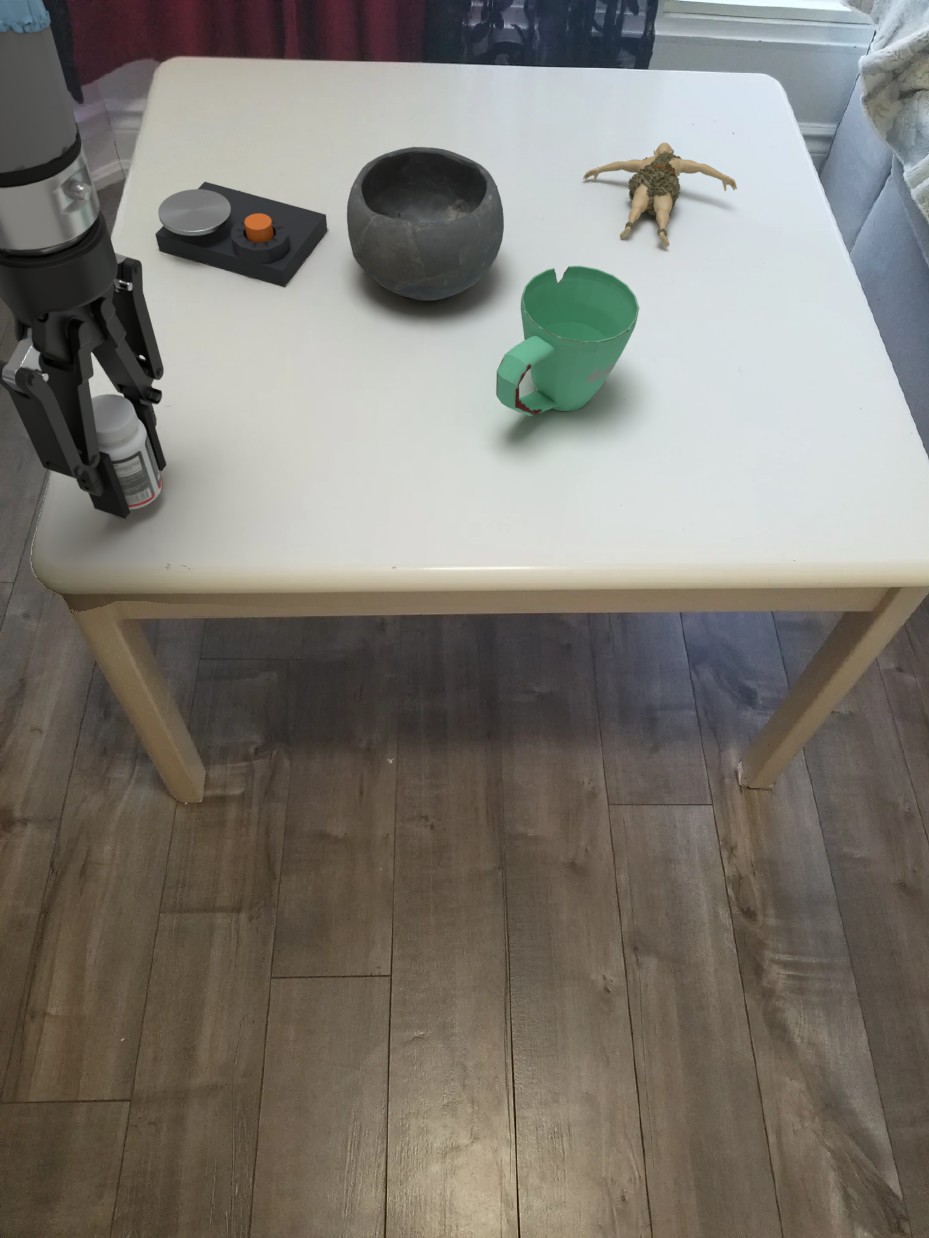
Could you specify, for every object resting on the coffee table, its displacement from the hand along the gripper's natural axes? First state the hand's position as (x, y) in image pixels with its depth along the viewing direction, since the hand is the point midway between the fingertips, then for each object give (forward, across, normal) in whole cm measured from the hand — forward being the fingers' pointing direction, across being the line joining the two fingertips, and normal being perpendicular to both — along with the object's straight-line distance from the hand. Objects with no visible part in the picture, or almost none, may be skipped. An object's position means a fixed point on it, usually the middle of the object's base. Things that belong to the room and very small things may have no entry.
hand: (131, 486), depth 73 cm
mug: (+1, +24, -28) cm, 37 cm away
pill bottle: (+1, 0, 0) cm, 1 cm away
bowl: (+2, +36, -11) cm, 38 cm away
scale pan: (-2, +32, +12) cm, 34 cm away
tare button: (-2, +32, +5) cm, 32 cm away
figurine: (+1, +57, -29) cm, 64 cm away
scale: (+2, +34, +8) cm, 35 cm away
